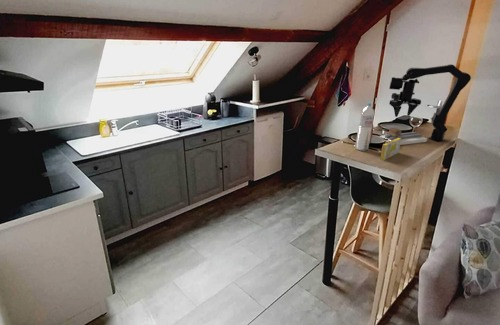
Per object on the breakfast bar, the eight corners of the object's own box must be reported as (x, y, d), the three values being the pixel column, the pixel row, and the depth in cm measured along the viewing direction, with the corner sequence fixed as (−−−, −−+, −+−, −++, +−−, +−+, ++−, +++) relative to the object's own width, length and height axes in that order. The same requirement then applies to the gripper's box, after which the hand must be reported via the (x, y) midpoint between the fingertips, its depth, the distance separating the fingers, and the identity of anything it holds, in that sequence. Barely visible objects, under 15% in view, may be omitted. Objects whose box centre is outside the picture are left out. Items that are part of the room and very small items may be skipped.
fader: (393, 136, 173) (395, 127, 171) (399, 138, 169) (401, 130, 167) (387, 136, 172) (389, 128, 170) (394, 139, 168) (396, 130, 165)
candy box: (394, 152, 156) (398, 137, 153) (398, 153, 155) (402, 138, 151) (379, 159, 147) (382, 143, 143) (383, 160, 145) (386, 145, 142)
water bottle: (367, 147, 161) (376, 102, 151) (368, 152, 155) (376, 105, 145) (354, 146, 163) (362, 101, 153) (354, 150, 157) (362, 104, 147)
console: (410, 135, 182) (411, 130, 180) (426, 141, 172) (428, 136, 170) (378, 139, 175) (380, 133, 174) (393, 145, 165) (394, 139, 163)
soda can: (371, 145, 165) (375, 124, 160) (358, 144, 166) (362, 124, 161) (369, 141, 171) (373, 121, 166) (356, 140, 172) (360, 120, 168)
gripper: (409, 87, 181) (404, 112, 187) (385, 88, 176) (380, 114, 182) (424, 90, 171) (418, 116, 178) (399, 92, 166) (393, 118, 172)
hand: (402, 116), depth 178 cm, fingers open, 9 cm apart
